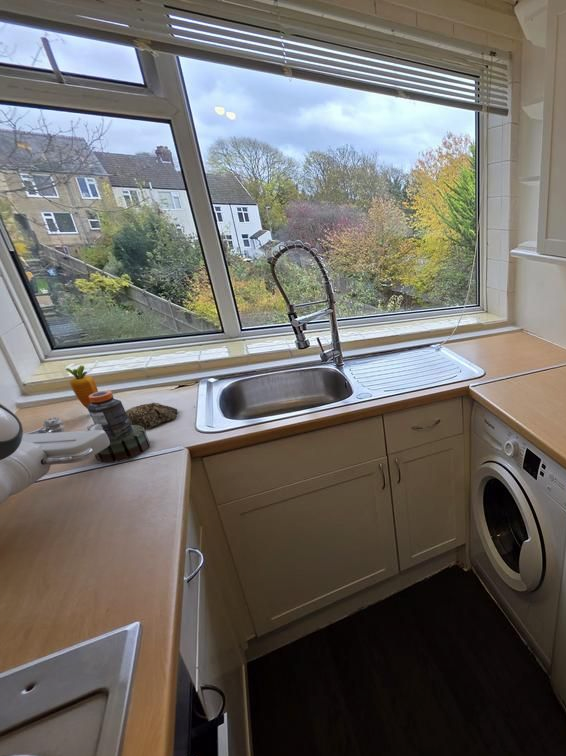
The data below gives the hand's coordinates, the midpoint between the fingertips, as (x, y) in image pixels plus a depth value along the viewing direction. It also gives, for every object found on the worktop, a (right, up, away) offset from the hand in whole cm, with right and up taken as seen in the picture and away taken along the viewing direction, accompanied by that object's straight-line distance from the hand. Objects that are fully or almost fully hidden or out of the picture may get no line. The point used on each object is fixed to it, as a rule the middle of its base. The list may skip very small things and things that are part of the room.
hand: (73, 428), depth 88 cm
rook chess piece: (-18, -7, +15) cm, 24 cm away
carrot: (-27, +1, +31) cm, 42 cm away
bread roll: (-8, -1, +29) cm, 30 cm away
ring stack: (-2, -7, +14) cm, 16 cm away
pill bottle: (-2, -3, +12) cm, 12 cm away
